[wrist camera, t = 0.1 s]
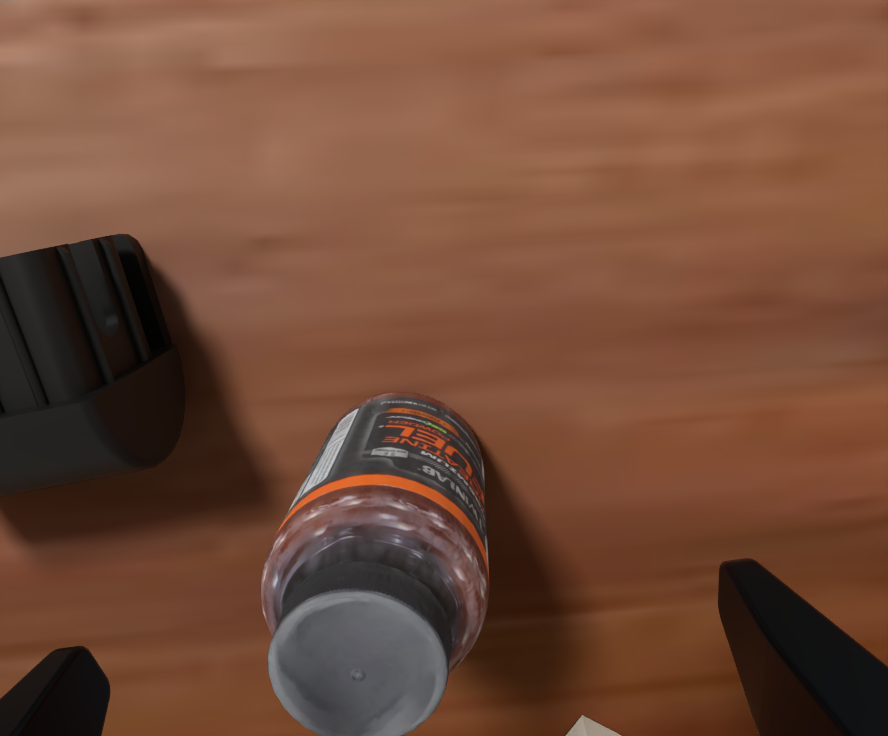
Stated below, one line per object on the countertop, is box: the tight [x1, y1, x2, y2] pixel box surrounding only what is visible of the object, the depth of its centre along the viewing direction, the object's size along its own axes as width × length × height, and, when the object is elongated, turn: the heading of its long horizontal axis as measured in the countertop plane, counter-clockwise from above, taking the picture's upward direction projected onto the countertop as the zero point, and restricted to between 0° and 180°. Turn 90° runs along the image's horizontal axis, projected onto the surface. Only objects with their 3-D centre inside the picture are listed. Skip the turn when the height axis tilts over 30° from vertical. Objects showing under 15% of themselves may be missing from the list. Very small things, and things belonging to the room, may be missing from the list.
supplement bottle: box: [261, 392, 489, 736], centre depth 20 cm, size 6×6×11 cm
